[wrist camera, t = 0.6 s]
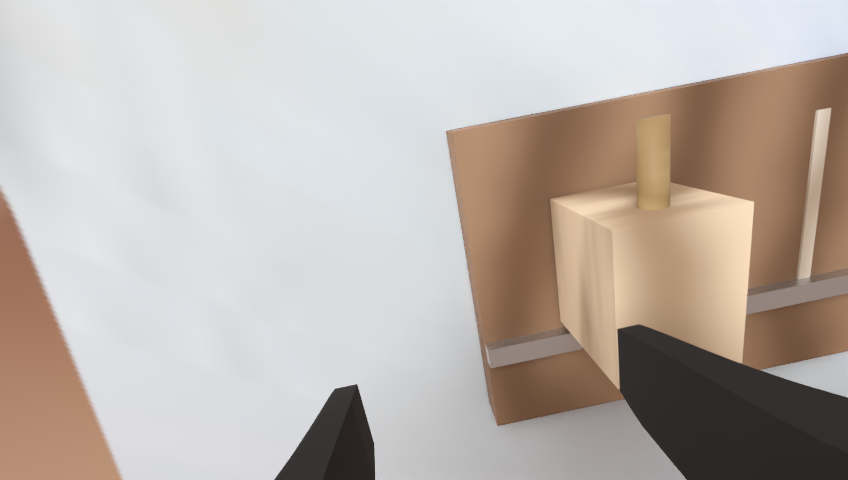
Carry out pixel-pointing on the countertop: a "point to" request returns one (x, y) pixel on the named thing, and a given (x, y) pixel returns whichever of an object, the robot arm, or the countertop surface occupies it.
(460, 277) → the countertop surface
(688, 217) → the beige peg block
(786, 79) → the walnut board
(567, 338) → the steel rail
